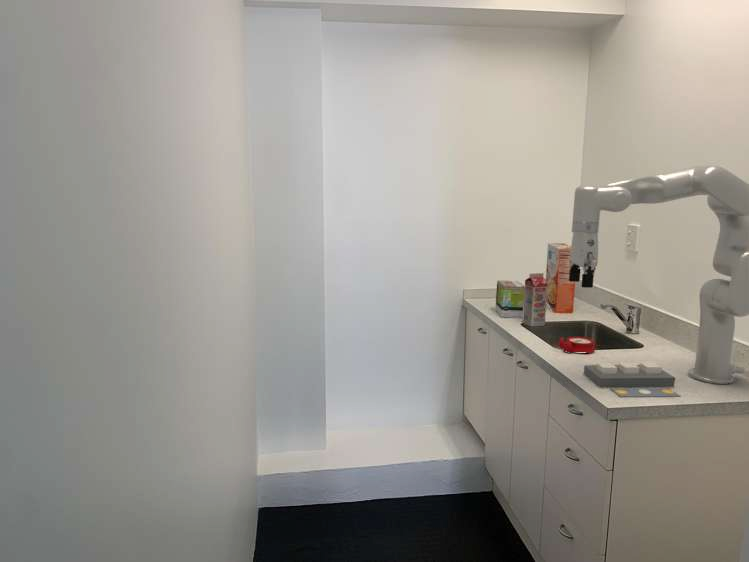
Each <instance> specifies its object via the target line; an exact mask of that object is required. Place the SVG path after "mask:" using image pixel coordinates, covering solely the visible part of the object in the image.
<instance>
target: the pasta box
mask: <svg viewBox="0 0 749 562" xmlns="http://www.w3.org/2000/svg"><path fill="white" fill-rule="evenodd" d="M570 253H571V245H570V244H569V245H568V244H567V243H561V242H560V243H556V242H555V243H552V242H551V243H550V242H548V243H547V253H546V269H545V280H546V281H547V282H548V283H547V299H546V303H547V304H548V305H549V306H550V308H551V309H552V310H551V309H550V308H549V309H550V310H551V311H553V313H554V314H574V303H575V300H574V299H575V287H576V286H575V285H576V282H570V281H569V273H570V269H572V268H570Z"/></svg>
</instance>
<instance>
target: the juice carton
mask: <svg viewBox="0 0 749 562" xmlns="http://www.w3.org/2000/svg"><path fill="white" fill-rule="evenodd" d="M528 275H529V277H528V278H526V279H525V280H524V286H525V291H524V306H523V317H522V323H523V324H525V325H528V326H529V327H538V326H539V327H540V326H546V325H545V324H546V314H547V312H546V311H547V305H546V299H547V283H548V282H547V281H546V278H545V277H544V272H543V273H542V272H541V273H537V272H536V273H529V274H528Z"/></svg>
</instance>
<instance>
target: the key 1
mask: <svg viewBox="0 0 749 562" xmlns="http://www.w3.org/2000/svg"><path fill="white" fill-rule="evenodd" d="M596 365H597V368H596V370H597V371H599V372H600V373H601V374H617V367H616V366H614V365H615V364H613V363H612V362H596Z"/></svg>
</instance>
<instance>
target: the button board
mask: <svg viewBox="0 0 749 562" xmlns="http://www.w3.org/2000/svg"><path fill="white" fill-rule="evenodd" d="M613 365H614V366H616V367H617V374H601V373H600V372H599V371H597V370H596V368H597V364H591V365H589V364H585V365H583V366H584V367H583V375H584V374H585V375H586V376H587V378H588V380H590V381H591V380H592V381H593V382H592V381H591V382H592V383H593V384H594V385H596V386H597V385H598V386H599V387H603V389H605V388H604V387H606V388H607V389H610V388H611V387H612V388H675V381H676V377H675V376H673V375H671V374H670V373H668V372H667V371H665V370H663V369H661V374H646V373H644V372H643V371H641V370H640V364H636V365H637V366H638V367H639V374H624V373H622V372H621V371H619V370H618V366H619V364H613ZM585 375H584V376H585ZM586 376H585V377H586ZM598 386H597V387H598ZM599 387H598V388H599ZM608 387H609V388H608Z"/></svg>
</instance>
